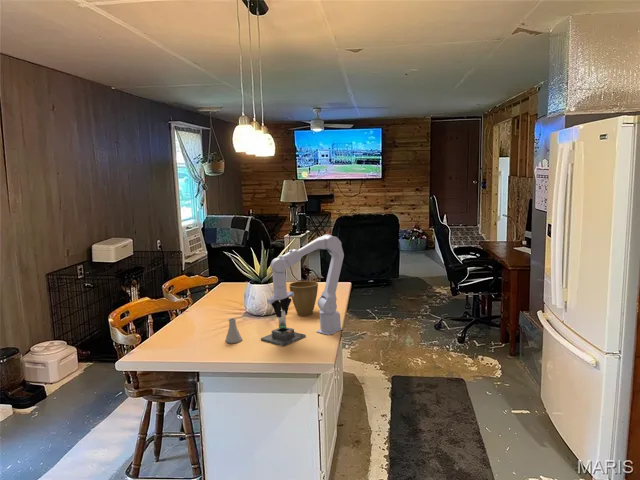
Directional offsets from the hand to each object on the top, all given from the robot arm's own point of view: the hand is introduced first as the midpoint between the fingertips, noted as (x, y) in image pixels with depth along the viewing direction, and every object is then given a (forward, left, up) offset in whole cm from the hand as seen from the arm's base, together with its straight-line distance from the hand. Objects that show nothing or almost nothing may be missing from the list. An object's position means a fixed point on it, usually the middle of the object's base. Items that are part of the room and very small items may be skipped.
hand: (281, 315), depth 212 cm
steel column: (0, 0, -5) cm, 5 cm away
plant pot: (-33, -17, -11) cm, 39 cm away
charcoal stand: (0, 0, -10) cm, 10 cm away
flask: (+14, -17, -11) cm, 24 cm away
